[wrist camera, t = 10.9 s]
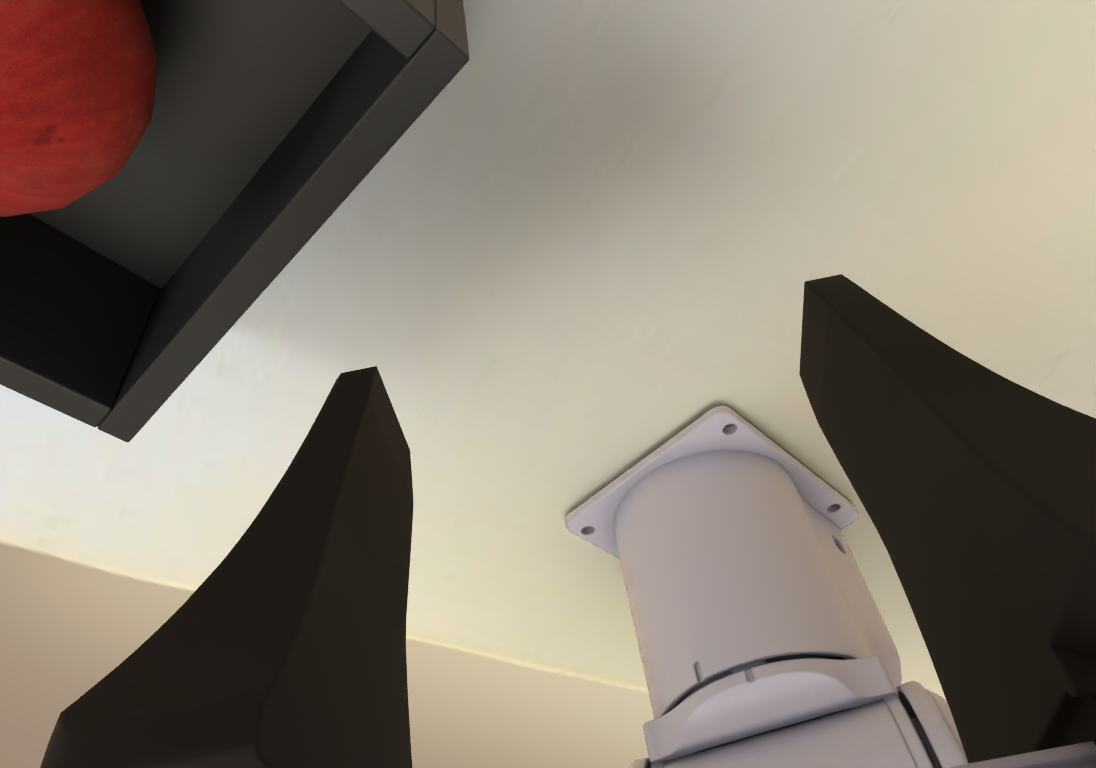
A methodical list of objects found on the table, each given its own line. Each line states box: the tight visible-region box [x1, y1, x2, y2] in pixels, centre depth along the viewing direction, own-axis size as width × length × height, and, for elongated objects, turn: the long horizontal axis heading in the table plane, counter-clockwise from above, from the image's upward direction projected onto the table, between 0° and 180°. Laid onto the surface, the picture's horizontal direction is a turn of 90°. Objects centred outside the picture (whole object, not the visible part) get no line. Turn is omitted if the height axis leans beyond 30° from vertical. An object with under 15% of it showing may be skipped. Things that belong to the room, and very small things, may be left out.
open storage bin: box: [0, 0, 469, 442], centre depth 17 cm, size 13×13×6 cm
